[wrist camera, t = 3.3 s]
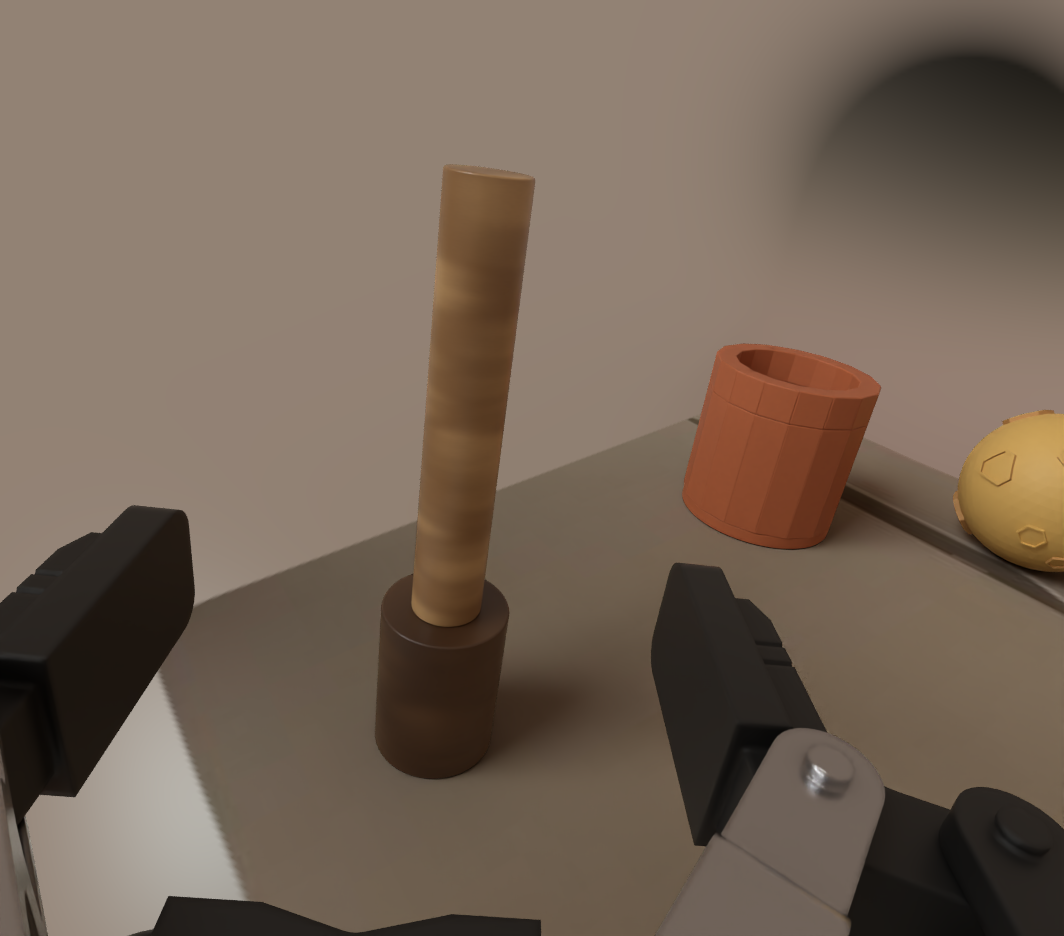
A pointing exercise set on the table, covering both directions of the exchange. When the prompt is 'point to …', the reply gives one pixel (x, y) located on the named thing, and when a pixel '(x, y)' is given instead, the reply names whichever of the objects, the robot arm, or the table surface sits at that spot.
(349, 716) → the table surface
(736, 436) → the jar
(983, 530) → the stress ball
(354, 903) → the table surface
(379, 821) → the table surface
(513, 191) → the brown cylinder
